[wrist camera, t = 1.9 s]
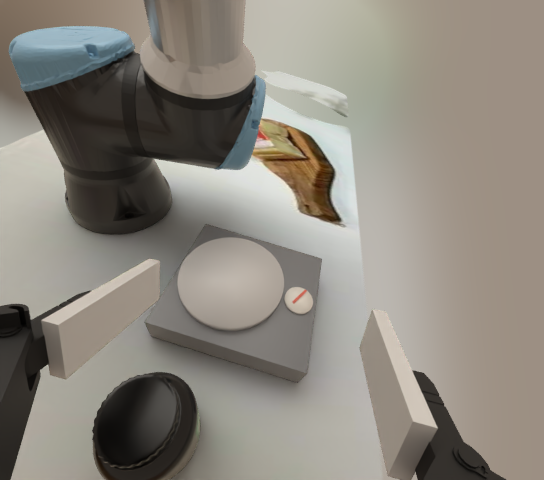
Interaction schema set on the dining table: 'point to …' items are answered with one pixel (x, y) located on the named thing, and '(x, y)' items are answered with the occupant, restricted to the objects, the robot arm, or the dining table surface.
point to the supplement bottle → (146, 428)
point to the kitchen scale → (242, 303)
